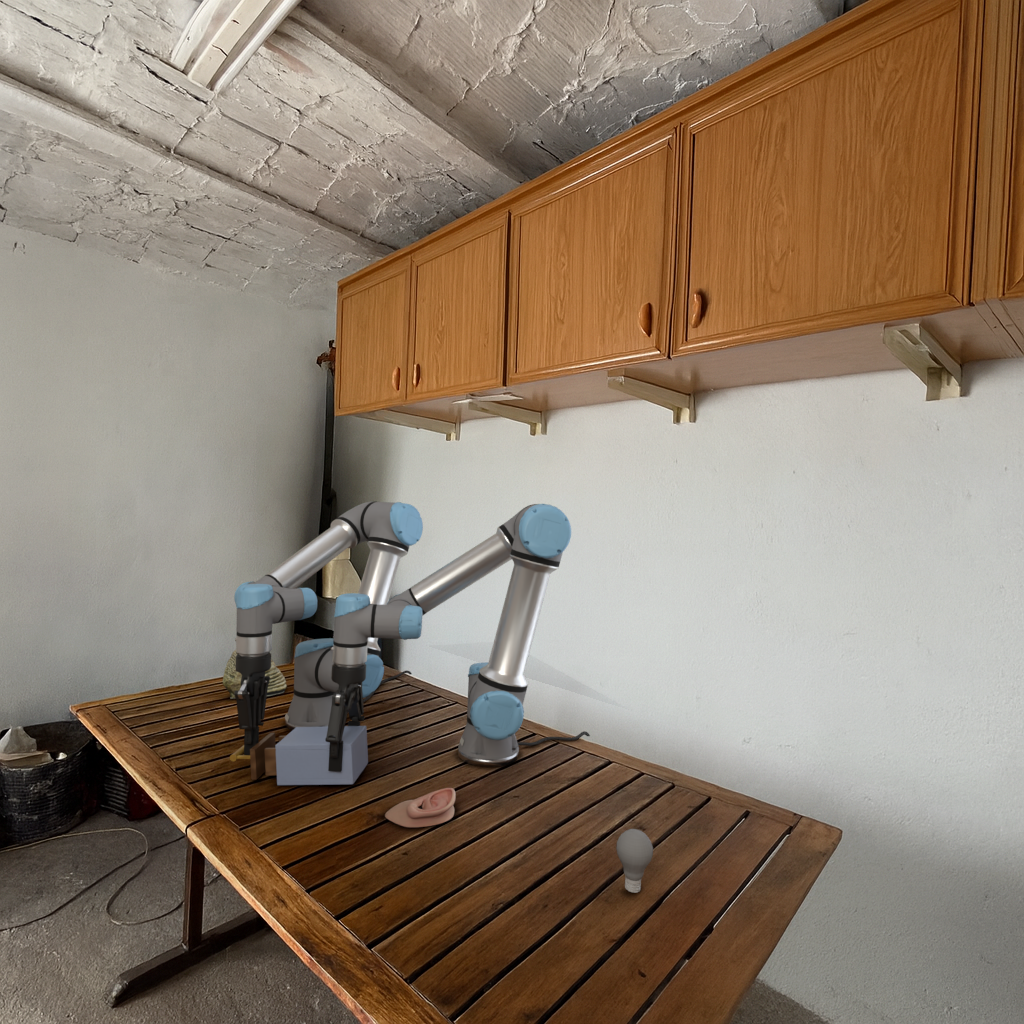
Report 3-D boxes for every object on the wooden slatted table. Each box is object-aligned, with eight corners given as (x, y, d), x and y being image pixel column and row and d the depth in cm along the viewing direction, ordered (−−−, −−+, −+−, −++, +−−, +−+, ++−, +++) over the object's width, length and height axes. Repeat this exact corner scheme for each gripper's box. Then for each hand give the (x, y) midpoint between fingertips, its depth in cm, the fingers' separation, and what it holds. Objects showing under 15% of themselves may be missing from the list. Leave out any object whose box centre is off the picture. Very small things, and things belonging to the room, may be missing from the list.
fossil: (218, 695, 195) (220, 647, 195) (278, 685, 208) (279, 640, 207) (228, 703, 189) (230, 653, 188) (289, 692, 201) (290, 645, 201)
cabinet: (277, 785, 138) (275, 745, 138) (297, 764, 149) (296, 726, 149) (353, 784, 137) (351, 743, 137) (368, 763, 148) (366, 725, 148)
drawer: (227, 780, 139) (225, 749, 139) (249, 761, 149) (247, 733, 149) (320, 778, 138) (318, 748, 138) (335, 760, 148) (334, 731, 148)
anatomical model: (379, 803, 124) (401, 778, 135) (378, 823, 124) (400, 796, 135) (444, 812, 121) (461, 786, 132) (443, 833, 121) (460, 805, 132)
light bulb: (610, 879, 108) (613, 822, 108) (644, 879, 109) (647, 822, 109) (619, 902, 102) (622, 840, 102) (655, 901, 103) (658, 840, 103)
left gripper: (250, 645, 150) (248, 743, 151) (223, 659, 137) (220, 766, 138) (281, 646, 150) (279, 745, 151) (256, 660, 137) (254, 768, 138)
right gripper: (350, 649, 154) (345, 738, 155) (312, 676, 131) (307, 781, 131) (380, 651, 154) (375, 741, 154) (348, 679, 130) (342, 784, 131)
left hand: (251, 755), depth 144 cm, fingers closed
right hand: (344, 759), depth 143 cm, fingers closed on cabinet, 11 cm apart
